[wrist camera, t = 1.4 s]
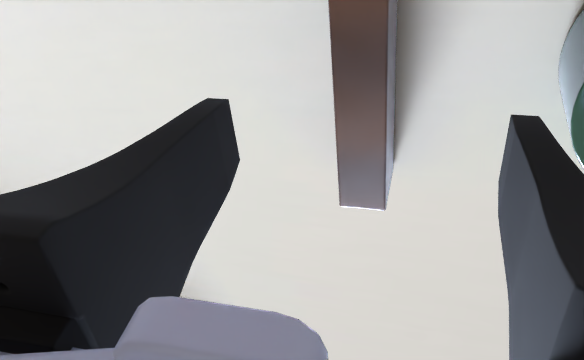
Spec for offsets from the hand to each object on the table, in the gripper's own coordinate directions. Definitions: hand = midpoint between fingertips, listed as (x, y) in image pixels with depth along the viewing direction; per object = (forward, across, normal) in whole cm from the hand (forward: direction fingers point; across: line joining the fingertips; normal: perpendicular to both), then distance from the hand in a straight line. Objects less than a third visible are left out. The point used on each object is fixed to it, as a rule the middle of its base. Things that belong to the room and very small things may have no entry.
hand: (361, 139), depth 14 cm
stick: (+9, +1, +1) cm, 9 cm away
